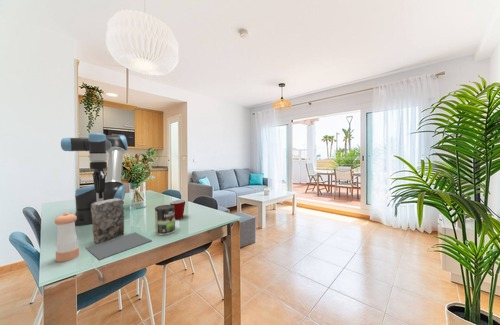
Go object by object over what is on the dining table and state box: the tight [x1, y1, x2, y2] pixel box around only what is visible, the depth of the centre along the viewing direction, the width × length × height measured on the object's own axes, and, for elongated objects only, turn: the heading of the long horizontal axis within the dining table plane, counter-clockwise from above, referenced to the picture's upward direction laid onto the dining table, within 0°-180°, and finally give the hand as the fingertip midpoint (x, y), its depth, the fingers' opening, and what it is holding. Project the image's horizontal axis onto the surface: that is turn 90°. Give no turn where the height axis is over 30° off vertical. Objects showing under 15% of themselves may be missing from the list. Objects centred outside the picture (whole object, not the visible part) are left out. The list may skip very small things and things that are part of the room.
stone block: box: [91, 198, 125, 244], centre depth 104 cm, size 13×7×20 cm, turn 158°
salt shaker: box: [54, 212, 80, 263], centre depth 84 cm, size 7×7×19 cm
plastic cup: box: [168, 199, 187, 220], centre depth 135 cm, size 11×11×12 cm
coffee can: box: [154, 204, 176, 236], centre depth 112 cm, size 10×10×14 cm
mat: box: [85, 232, 152, 261], centre depth 96 cm, size 18×22×1 cm
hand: (100, 203), depth 110 cm, fingers closed
